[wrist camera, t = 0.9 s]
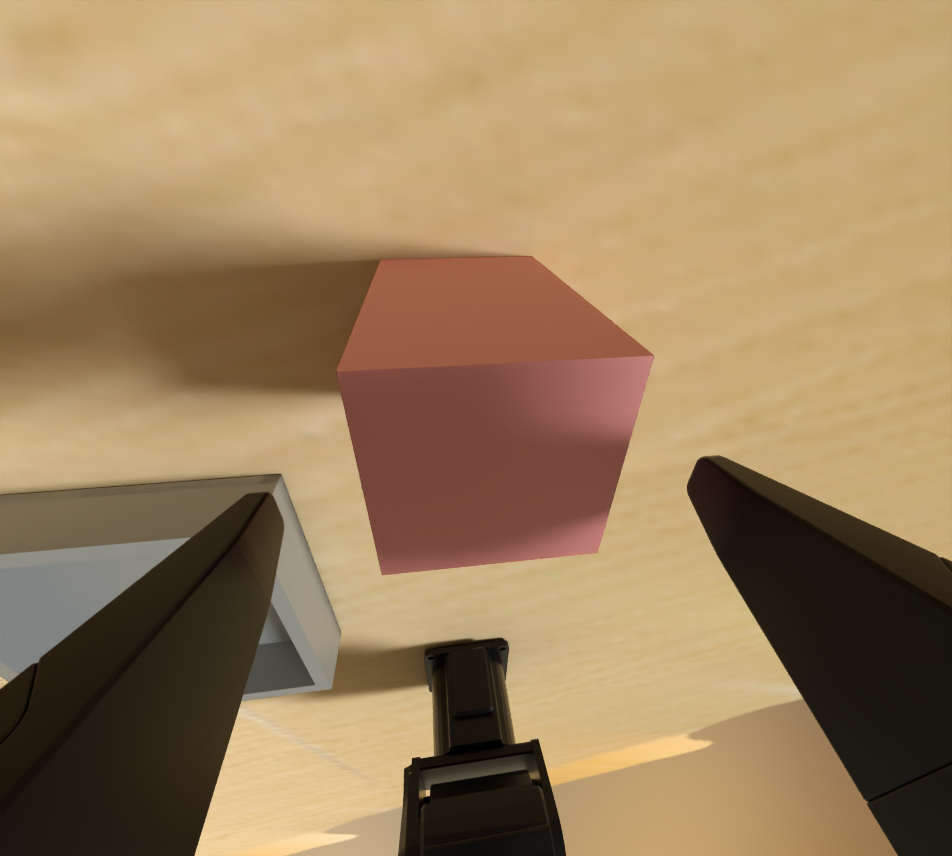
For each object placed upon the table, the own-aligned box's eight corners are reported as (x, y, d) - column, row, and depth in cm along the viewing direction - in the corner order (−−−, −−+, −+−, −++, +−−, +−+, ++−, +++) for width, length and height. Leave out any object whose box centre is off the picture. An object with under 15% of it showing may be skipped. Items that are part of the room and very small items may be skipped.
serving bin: (341, 632, 27) (331, 689, 24) (112, 659, 25) (73, 723, 22) (281, 474, 18) (255, 531, 15) (-66, 500, 17) (-166, 569, 14)
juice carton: (521, 387, 17) (597, 552, 10) (398, 394, 17) (382, 575, 9) (531, 255, 14) (654, 355, 7) (380, 259, 14) (336, 371, 6)
